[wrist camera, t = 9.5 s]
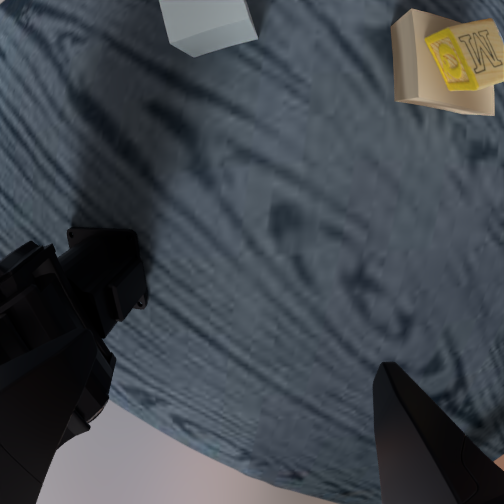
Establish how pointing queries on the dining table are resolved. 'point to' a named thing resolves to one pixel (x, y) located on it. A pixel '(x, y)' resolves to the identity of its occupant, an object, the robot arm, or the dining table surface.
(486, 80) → the alphabet block
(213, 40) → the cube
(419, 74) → the beech block
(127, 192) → the dining table surface
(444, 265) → the dining table surface
